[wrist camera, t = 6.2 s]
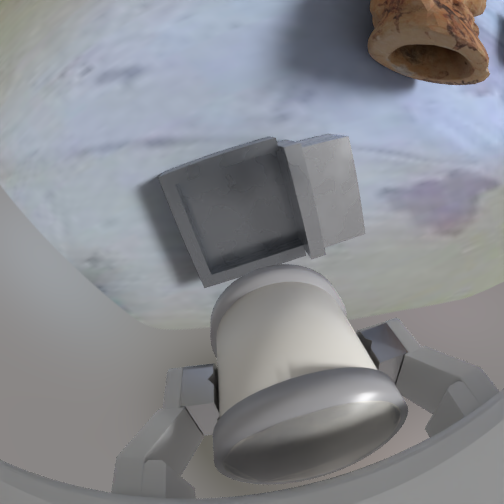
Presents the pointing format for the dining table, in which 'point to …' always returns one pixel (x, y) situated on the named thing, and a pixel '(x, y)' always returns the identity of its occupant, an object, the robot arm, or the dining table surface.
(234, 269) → the grey open square box
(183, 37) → the dining table surface
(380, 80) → the dining table surface
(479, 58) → the clay pipe
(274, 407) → the white domed knob
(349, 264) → the dining table surface
